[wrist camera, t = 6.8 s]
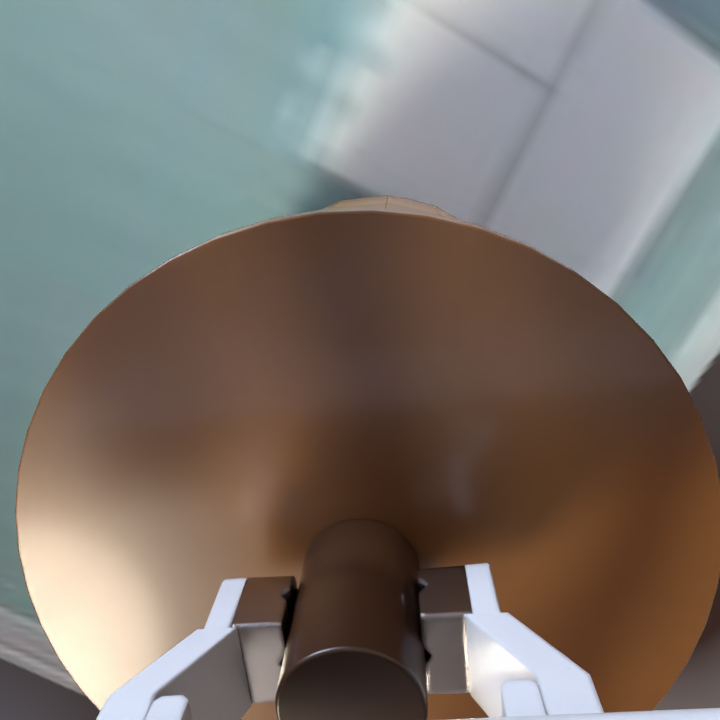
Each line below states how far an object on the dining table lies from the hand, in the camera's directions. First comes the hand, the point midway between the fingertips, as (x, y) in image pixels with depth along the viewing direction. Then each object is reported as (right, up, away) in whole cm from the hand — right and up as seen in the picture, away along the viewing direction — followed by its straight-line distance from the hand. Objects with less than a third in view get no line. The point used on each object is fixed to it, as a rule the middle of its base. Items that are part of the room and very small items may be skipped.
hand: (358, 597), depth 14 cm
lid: (0, +1, +2) cm, 2 cm away
